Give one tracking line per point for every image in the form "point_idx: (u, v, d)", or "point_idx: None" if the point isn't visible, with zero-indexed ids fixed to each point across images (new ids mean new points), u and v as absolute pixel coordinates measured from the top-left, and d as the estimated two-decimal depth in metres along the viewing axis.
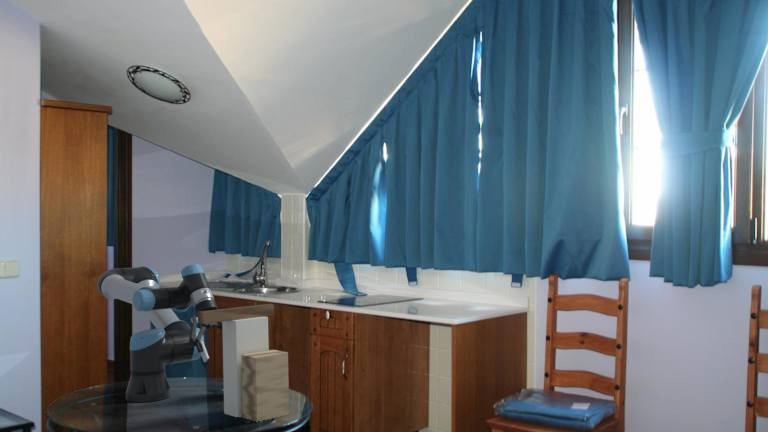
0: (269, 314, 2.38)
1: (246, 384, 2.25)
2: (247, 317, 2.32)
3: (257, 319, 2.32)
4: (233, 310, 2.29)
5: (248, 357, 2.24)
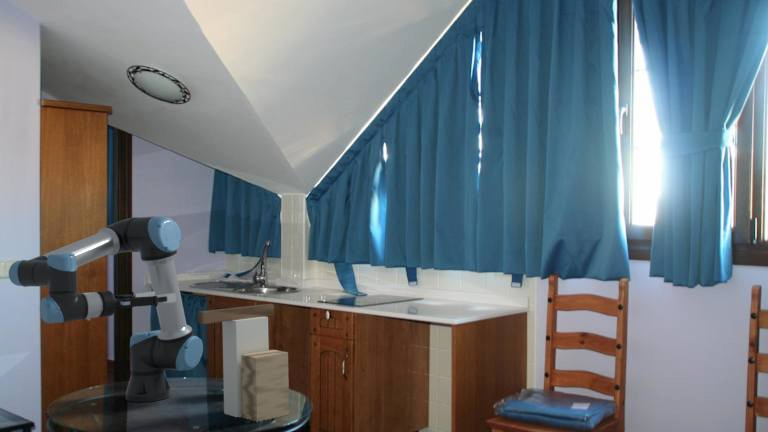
0: (269, 314, 2.38)
1: (246, 384, 2.25)
2: (247, 317, 2.32)
3: (257, 319, 2.32)
4: (233, 310, 2.29)
5: (248, 357, 2.24)
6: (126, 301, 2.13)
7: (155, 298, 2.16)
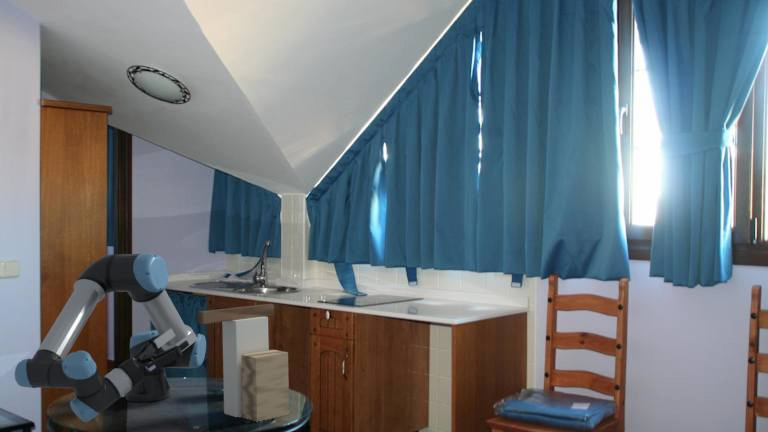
0: (269, 314, 2.38)
1: (246, 384, 2.25)
2: (247, 317, 2.32)
3: (257, 319, 2.32)
4: (233, 310, 2.29)
5: (248, 357, 2.24)
6: (151, 366, 2.05)
7: (177, 351, 2.07)
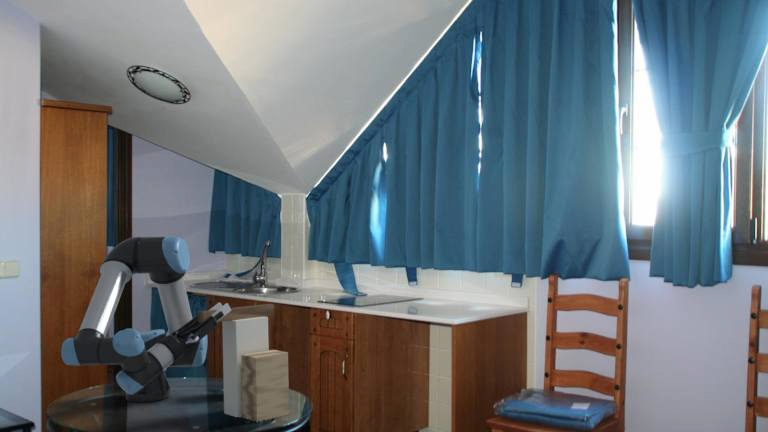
0: (269, 314, 2.38)
1: (246, 384, 2.25)
2: (247, 317, 2.32)
3: (257, 319, 2.32)
4: (233, 310, 2.29)
5: (248, 357, 2.24)
6: (195, 337, 2.14)
7: (213, 320, 2.20)
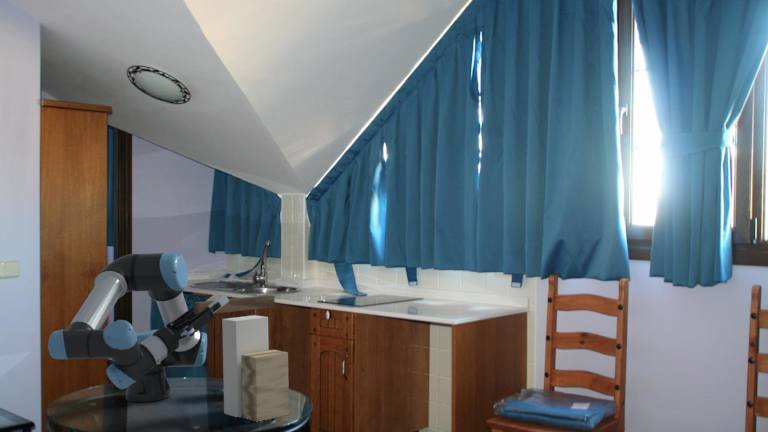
0: (269, 306, 2.27)
1: (246, 384, 2.25)
2: (246, 308, 2.21)
3: (257, 319, 2.32)
4: (231, 301, 2.17)
5: (248, 357, 2.24)
6: (191, 329, 2.03)
7: (210, 312, 2.09)
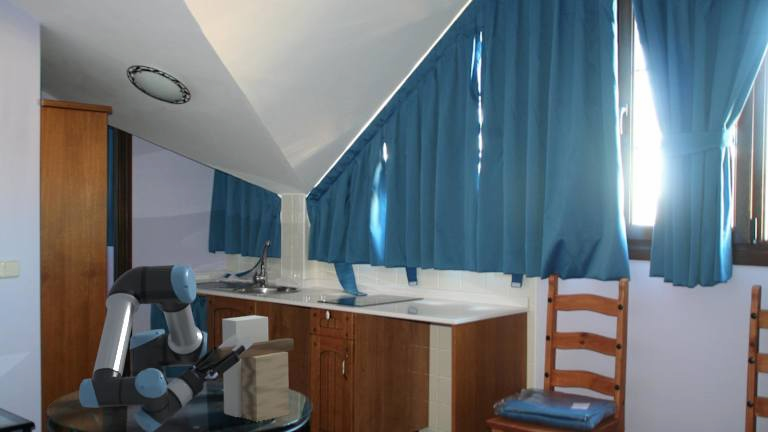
0: (288, 349, 2.32)
1: (246, 384, 2.25)
2: (267, 353, 2.26)
3: (257, 319, 2.32)
4: (252, 346, 2.23)
5: (248, 357, 2.24)
6: (214, 373, 2.08)
7: (235, 356, 2.12)
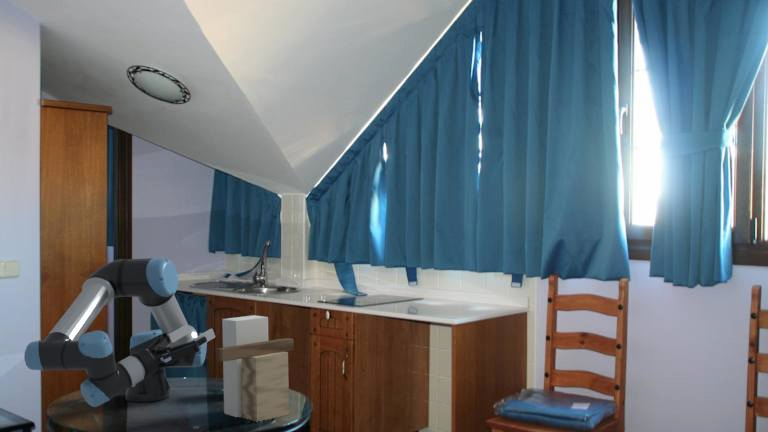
0: (288, 349, 2.32)
1: (246, 384, 2.25)
2: (267, 353, 2.26)
3: (257, 319, 2.32)
4: (252, 346, 2.23)
5: (248, 357, 2.24)
6: (167, 357, 1.99)
7: (195, 345, 2.02)
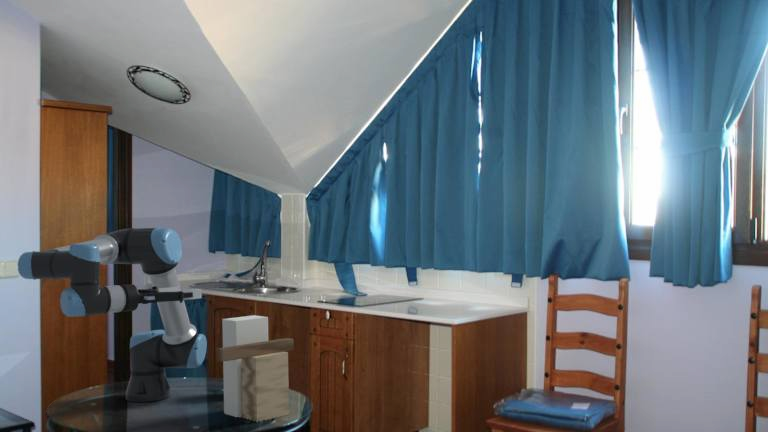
0: (288, 349, 2.32)
1: (246, 384, 2.25)
2: (267, 353, 2.26)
3: (257, 319, 2.32)
4: (252, 346, 2.23)
5: (248, 357, 2.24)
6: (150, 296, 2.02)
7: (181, 293, 2.05)
